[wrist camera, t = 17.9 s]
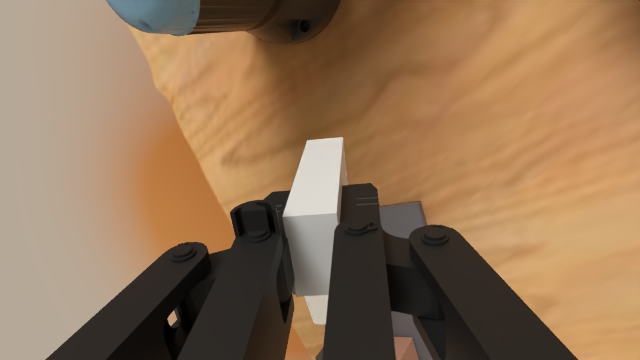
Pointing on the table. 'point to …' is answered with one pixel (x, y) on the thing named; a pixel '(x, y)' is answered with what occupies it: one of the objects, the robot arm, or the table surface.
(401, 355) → the terracotta key
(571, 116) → the table surface
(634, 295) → the table surface
